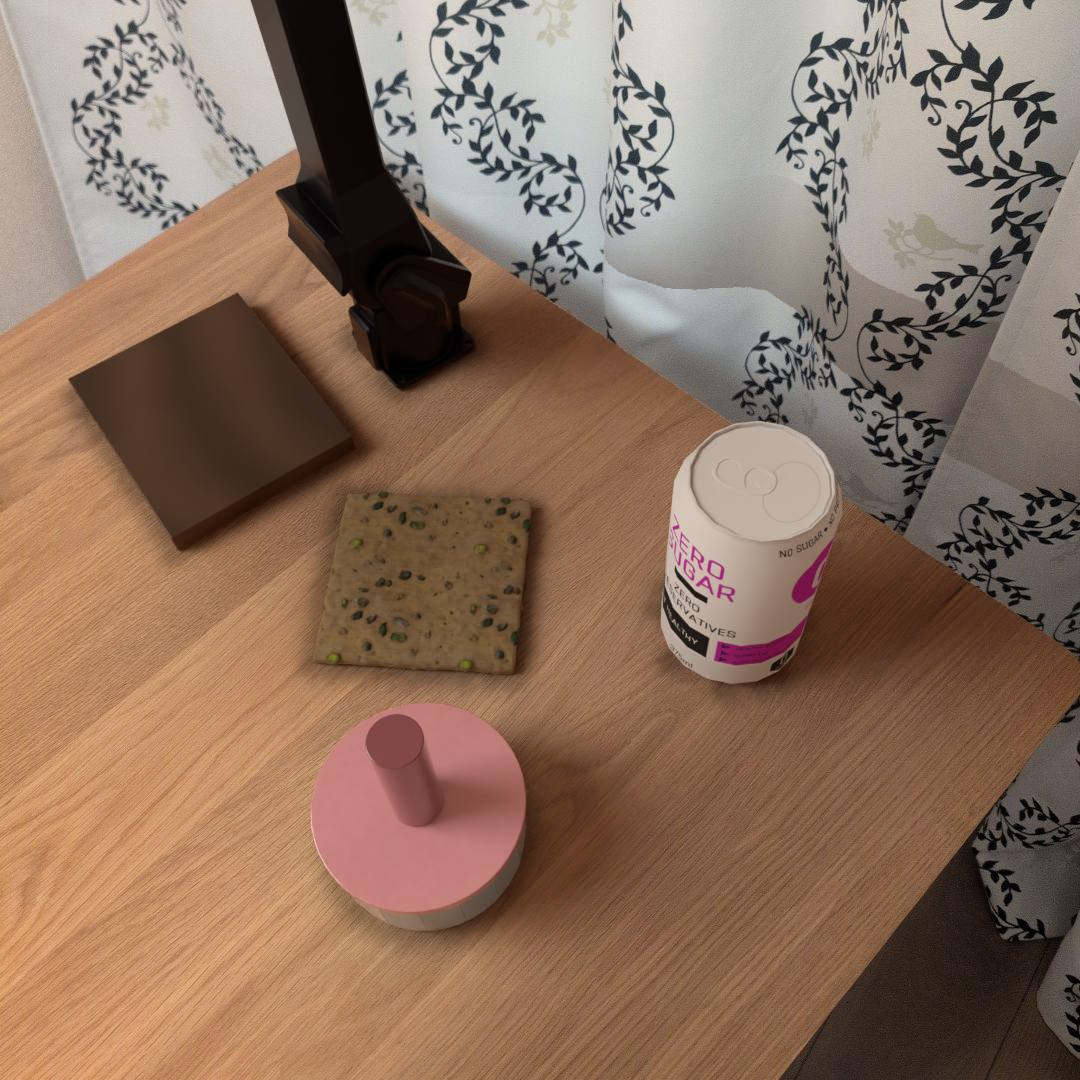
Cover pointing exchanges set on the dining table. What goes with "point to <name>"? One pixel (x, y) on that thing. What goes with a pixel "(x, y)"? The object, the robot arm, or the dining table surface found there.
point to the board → (211, 418)
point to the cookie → (426, 583)
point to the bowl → (460, 911)
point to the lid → (418, 808)
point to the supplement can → (747, 549)
